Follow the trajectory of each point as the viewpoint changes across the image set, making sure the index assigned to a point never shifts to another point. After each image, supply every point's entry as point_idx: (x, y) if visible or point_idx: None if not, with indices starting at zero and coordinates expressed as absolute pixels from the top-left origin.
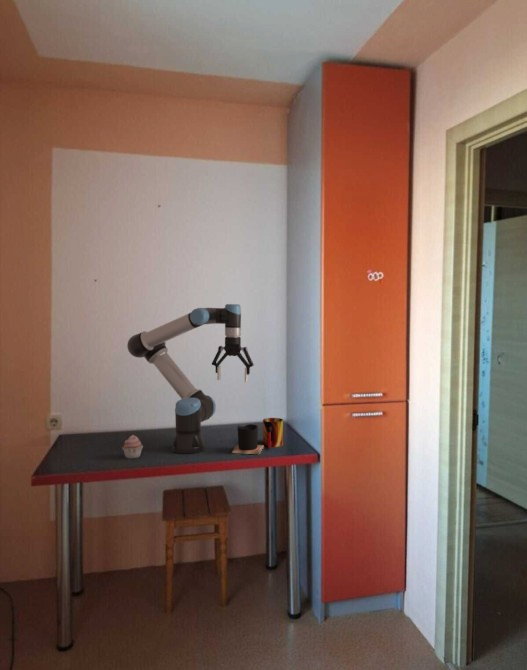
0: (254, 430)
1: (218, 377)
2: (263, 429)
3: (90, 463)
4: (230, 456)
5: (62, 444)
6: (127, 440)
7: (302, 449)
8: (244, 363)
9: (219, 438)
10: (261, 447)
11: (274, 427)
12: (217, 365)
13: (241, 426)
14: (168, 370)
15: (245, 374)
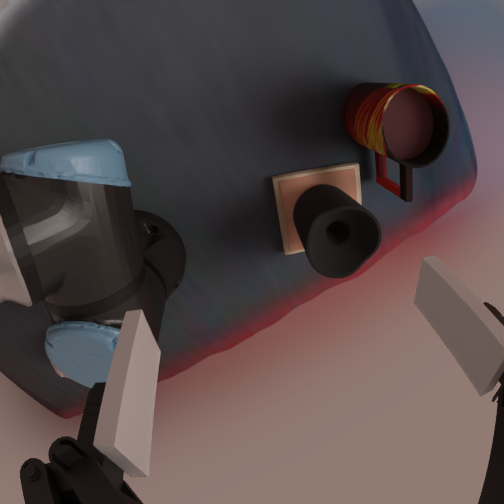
0: (371, 254)
1: (154, 373)
2: (370, 142)
3: (56, 378)
4: (287, 269)
5: None
6: (64, 376)
7: (450, 151)
8: (502, 435)
9: (156, 101)
10: (357, 189)
11: (417, 159)
12: (126, 489)
13: (313, 227)
14: None
15: (453, 344)
